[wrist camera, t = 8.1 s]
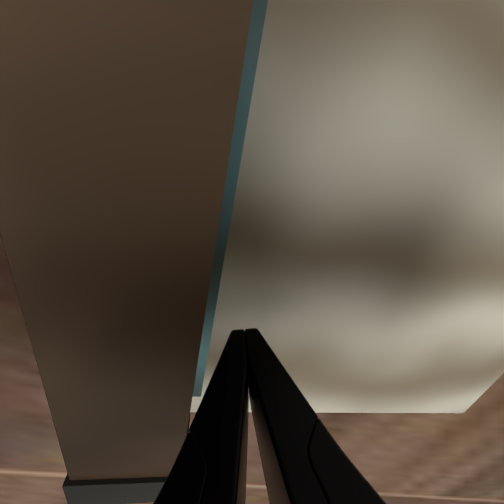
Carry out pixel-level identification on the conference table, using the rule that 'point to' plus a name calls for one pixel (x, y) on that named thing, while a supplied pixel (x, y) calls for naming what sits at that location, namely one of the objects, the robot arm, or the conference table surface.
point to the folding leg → (116, 216)
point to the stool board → (367, 203)
